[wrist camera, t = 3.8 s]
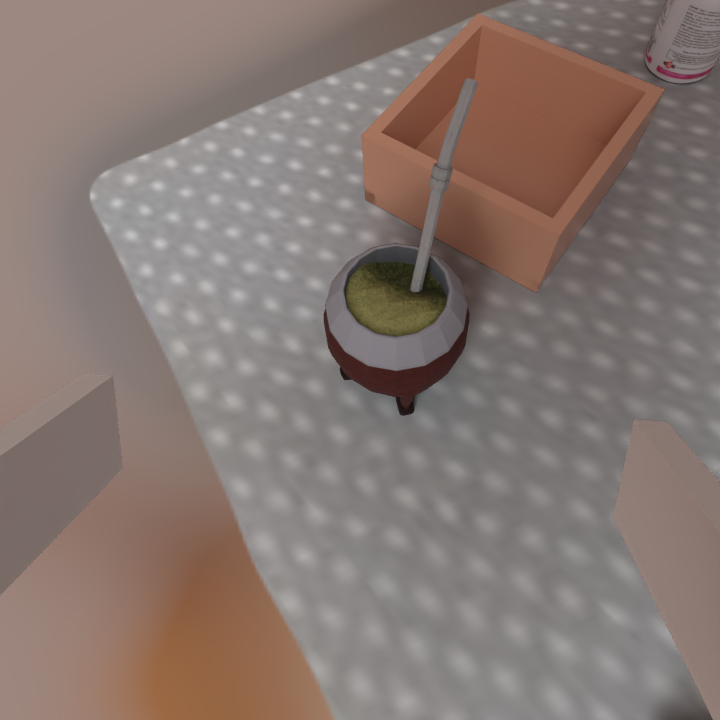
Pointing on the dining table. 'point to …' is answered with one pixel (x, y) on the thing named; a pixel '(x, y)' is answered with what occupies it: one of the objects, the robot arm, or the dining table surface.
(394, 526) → the dining table surface
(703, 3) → the pill bottle
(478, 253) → the box
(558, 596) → the dining table surface
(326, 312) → the mate gourd
